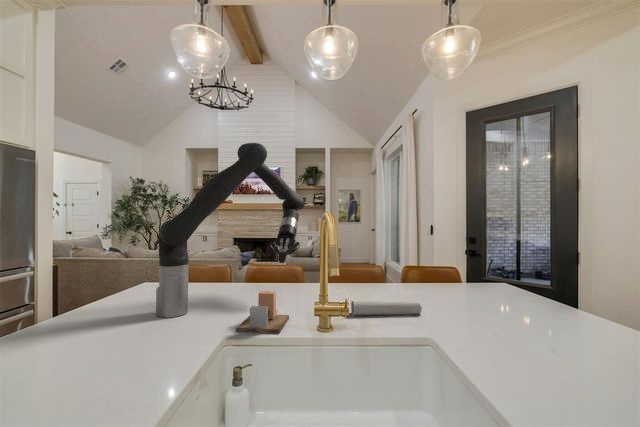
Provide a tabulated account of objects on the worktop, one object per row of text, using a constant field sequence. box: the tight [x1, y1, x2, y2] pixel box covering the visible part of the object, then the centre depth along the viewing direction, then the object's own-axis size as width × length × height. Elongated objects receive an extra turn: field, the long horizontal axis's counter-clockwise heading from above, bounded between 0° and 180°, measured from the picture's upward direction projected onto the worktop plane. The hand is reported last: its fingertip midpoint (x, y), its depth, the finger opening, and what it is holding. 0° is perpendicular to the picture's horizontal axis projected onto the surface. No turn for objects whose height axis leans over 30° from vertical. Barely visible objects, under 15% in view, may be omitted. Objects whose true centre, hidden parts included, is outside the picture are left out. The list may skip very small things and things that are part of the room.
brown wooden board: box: [236, 314, 290, 334], centre depth 93 cm, size 13×13×1 cm
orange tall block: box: [257, 290, 277, 319], centre depth 96 cm, size 5×3×8 cm, turn 84°
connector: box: [249, 305, 268, 329], centre depth 88 cm, size 5×3×6 cm, turn 84°
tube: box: [350, 300, 423, 317], centre depth 104 cm, size 5×5×25 cm
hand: (281, 261), depth 115 cm, fingers closed
